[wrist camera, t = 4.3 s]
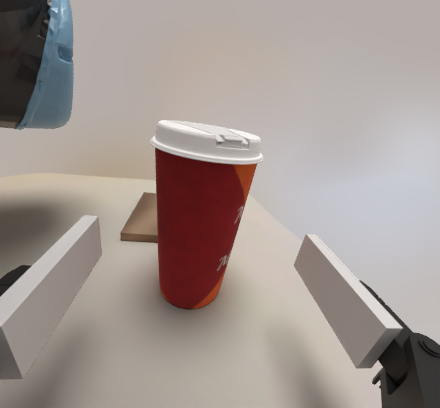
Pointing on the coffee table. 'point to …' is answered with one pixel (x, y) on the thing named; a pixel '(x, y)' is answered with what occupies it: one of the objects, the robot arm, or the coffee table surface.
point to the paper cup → (199, 205)
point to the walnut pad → (142, 221)
